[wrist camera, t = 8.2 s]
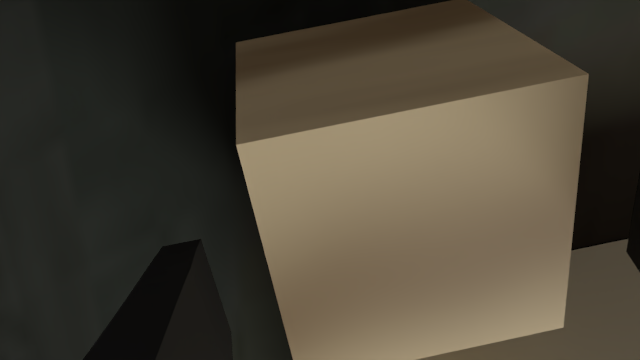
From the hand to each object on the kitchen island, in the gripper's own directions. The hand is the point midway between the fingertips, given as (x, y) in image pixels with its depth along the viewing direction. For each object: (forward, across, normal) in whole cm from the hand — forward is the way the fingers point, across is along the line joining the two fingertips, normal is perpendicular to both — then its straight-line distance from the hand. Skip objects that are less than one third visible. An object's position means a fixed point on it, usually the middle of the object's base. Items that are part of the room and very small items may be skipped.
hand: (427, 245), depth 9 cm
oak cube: (+5, 0, 0) cm, 5 cm away
